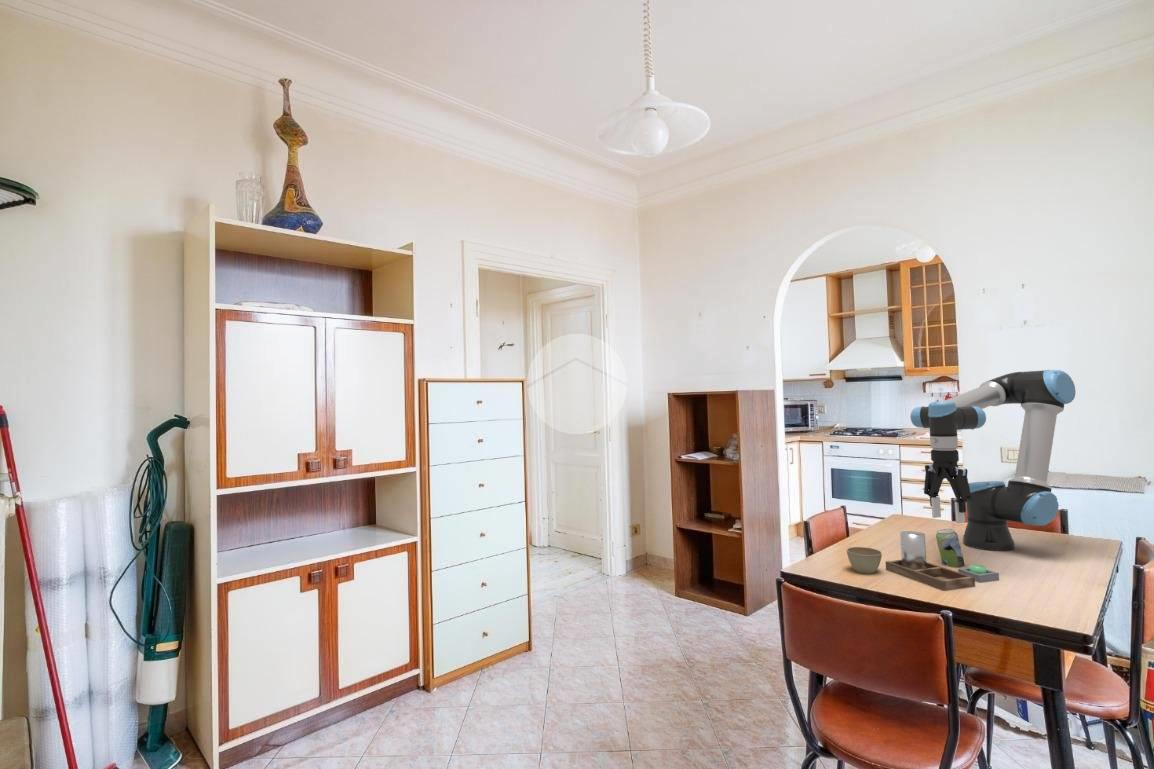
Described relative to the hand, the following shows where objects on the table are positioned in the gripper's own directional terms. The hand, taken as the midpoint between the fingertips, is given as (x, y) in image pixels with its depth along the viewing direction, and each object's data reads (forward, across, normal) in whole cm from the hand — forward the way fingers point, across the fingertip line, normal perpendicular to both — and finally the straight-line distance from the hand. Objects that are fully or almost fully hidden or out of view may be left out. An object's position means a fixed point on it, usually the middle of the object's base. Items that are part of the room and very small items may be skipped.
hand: (948, 519), depth 180 cm
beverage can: (+15, 0, 0) cm, 15 cm away
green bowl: (+15, -4, -29) cm, 33 cm away
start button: (+14, +13, -4) cm, 19 cm away
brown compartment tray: (+15, +8, -17) cm, 24 cm away
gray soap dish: (+15, +13, -4) cm, 20 cm away
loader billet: (+14, +3, -17) cm, 22 cm away
